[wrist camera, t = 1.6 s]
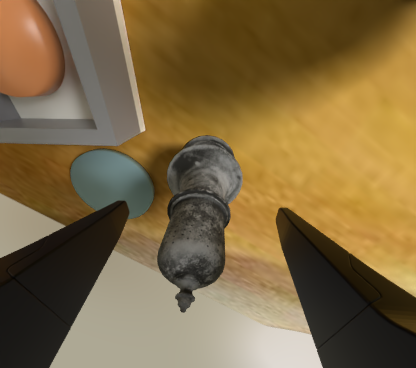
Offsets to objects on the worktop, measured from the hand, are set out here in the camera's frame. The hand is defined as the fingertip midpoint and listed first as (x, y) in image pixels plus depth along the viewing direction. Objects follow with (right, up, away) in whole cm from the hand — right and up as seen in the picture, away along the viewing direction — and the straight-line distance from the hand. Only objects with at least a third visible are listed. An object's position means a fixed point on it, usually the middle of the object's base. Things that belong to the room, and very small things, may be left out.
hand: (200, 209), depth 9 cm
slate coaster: (-10, +1, +8) cm, 13 cm away
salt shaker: (0, +4, +6) cm, 7 cm away
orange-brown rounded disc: (-11, +10, 0) cm, 15 cm away
